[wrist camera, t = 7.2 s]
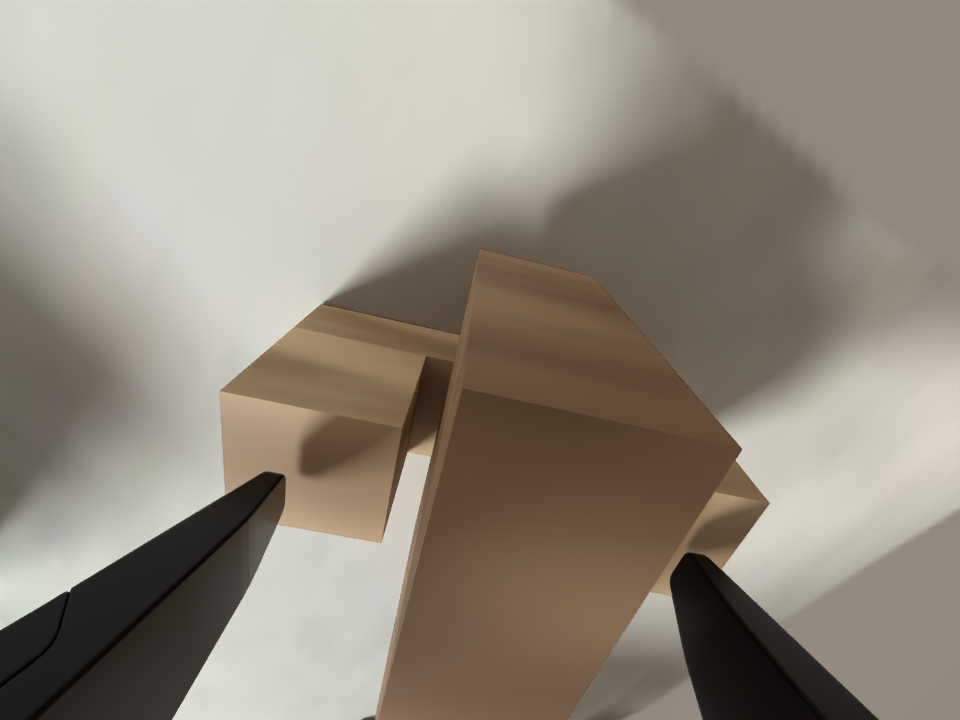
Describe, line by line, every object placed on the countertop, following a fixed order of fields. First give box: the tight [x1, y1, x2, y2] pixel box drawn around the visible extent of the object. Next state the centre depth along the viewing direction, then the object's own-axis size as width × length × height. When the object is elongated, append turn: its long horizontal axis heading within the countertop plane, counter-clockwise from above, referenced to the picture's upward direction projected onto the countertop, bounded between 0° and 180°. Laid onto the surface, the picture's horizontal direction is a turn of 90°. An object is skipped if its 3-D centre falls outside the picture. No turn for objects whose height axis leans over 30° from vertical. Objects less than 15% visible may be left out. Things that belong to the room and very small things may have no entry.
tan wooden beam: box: [375, 249, 742, 720], centre depth 10 cm, size 10×3×7 cm, turn 167°
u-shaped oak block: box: [220, 304, 770, 596], centre depth 12 cm, size 4×12×6 cm, turn 77°
